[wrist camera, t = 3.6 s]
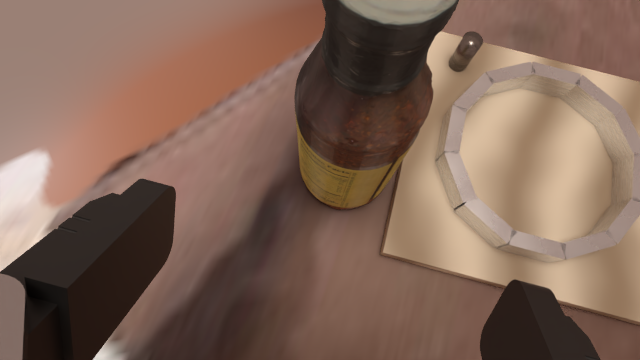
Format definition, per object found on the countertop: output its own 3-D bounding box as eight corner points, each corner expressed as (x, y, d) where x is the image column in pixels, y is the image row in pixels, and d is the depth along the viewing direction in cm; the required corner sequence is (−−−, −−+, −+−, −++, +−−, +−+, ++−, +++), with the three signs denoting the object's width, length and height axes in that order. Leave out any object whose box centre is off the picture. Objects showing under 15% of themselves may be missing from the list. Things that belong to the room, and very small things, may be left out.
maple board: (646, 94, 34) (658, 86, 33) (639, 325, 28) (653, 325, 27) (427, 38, 34) (431, 29, 33) (379, 254, 29) (383, 252, 28)
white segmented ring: (629, 99, 32) (662, 79, 29) (621, 282, 28) (658, 280, 25) (450, 54, 32) (464, 29, 30) (415, 227, 28) (429, 218, 25)
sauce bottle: (356, 118, 32) (443, -163, 13) (401, 188, 30) (573, -12, 11) (280, 157, 31) (250, -88, 12) (323, 232, 29) (369, 91, 10)
